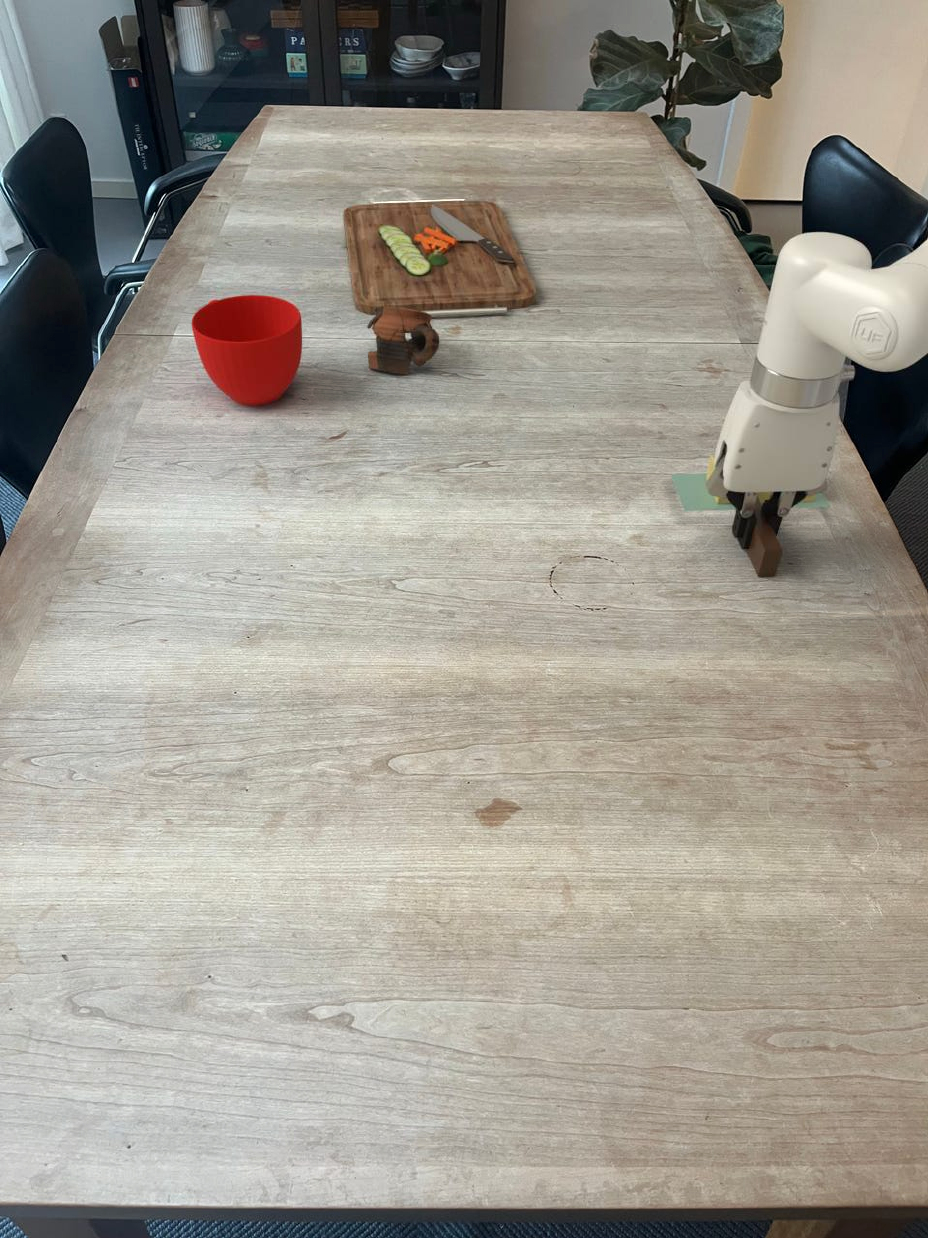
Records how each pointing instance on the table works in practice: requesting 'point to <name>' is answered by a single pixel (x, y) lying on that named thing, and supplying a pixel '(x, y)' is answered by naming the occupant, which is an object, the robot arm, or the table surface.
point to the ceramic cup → (249, 346)
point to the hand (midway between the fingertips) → (752, 540)
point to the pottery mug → (401, 339)
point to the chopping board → (435, 258)
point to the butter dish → (699, 499)
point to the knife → (764, 545)
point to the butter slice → (709, 472)
